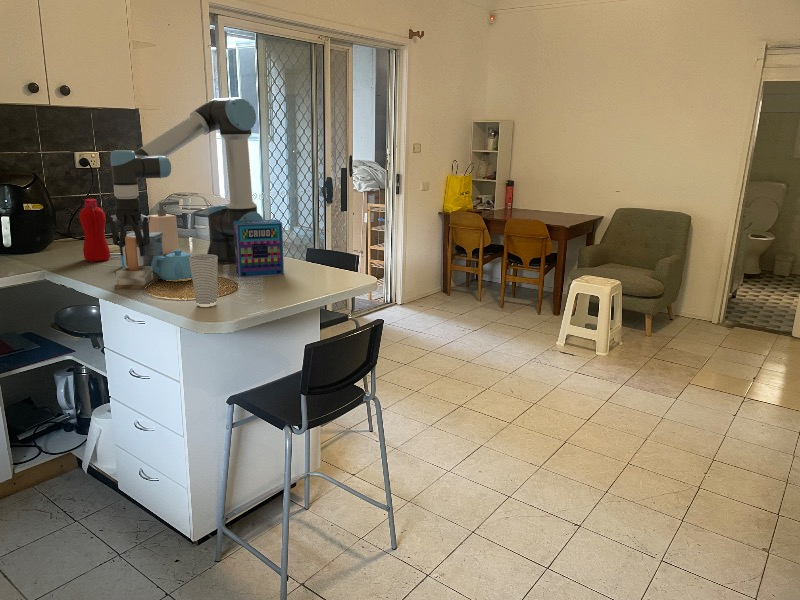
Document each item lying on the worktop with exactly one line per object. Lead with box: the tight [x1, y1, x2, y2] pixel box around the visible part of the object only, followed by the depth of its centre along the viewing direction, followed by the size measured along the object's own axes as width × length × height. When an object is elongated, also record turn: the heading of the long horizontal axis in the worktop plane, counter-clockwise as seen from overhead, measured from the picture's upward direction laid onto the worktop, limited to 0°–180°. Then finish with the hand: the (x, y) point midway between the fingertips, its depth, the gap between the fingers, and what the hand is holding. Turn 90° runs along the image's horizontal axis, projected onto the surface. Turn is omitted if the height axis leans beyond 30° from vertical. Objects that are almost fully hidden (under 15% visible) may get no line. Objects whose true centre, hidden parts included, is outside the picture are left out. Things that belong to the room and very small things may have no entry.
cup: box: [189, 253, 219, 304], centre depth 184 cm, size 8×8×16 cm
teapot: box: [151, 249, 192, 281], centre depth 218 cm, size 15×15×11 cm
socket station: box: [114, 231, 164, 290], centre depth 211 cm, size 11×20×16 cm, turn 1°
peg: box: [125, 236, 141, 271], centre depth 206 cm, size 4×4×14 cm
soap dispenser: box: [148, 200, 180, 255], centre depth 263 cm, size 13×9×22 cm
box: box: [234, 219, 285, 278], centre depth 226 cm, size 17×9×20 cm, turn 111°
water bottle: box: [78, 198, 111, 263], centre depth 242 cm, size 9×11×25 cm
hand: (134, 265), depth 207 cm, fingers open, 4 cm apart
